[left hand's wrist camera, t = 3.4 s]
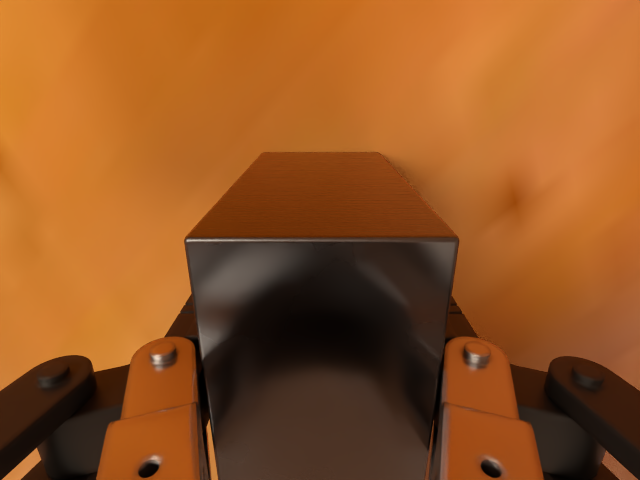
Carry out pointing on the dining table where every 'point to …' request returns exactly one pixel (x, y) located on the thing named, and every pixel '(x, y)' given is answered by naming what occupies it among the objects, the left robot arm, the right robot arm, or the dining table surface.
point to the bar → (321, 319)
